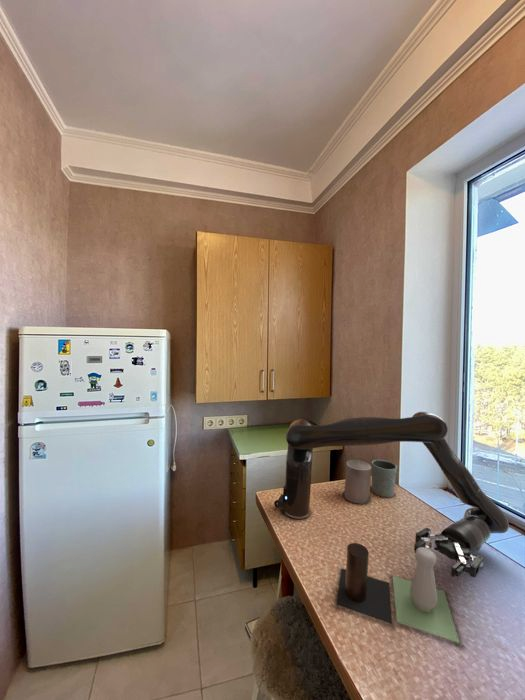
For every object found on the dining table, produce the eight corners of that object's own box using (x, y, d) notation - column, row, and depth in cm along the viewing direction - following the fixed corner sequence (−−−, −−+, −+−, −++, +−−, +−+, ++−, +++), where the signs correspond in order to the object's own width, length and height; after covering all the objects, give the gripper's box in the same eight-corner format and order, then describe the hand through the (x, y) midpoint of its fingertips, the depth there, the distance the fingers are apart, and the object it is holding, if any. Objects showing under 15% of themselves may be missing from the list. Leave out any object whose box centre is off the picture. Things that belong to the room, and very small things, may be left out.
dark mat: (336, 607, 69) (336, 604, 69) (341, 570, 80) (341, 568, 80) (391, 626, 65) (392, 623, 65) (389, 585, 76) (389, 582, 76)
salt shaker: (440, 619, 66) (444, 562, 66) (413, 613, 68) (416, 558, 67) (431, 597, 72) (434, 545, 72) (406, 592, 73) (409, 541, 73)
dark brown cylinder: (344, 598, 71) (346, 553, 70) (345, 582, 76) (348, 540, 75) (365, 605, 69) (368, 559, 69) (366, 589, 74) (368, 546, 73)
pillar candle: (357, 490, 125) (359, 455, 125) (374, 501, 117) (376, 464, 116) (339, 494, 121) (341, 458, 121) (356, 506, 112) (358, 467, 112)
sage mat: (396, 624, 65) (396, 621, 65) (392, 577, 79) (392, 575, 79) (459, 645, 61) (459, 643, 61) (444, 593, 74) (444, 590, 74)
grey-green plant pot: (383, 500, 118) (385, 470, 118) (364, 488, 127) (366, 461, 127) (400, 495, 123) (402, 466, 122) (381, 484, 132) (382, 457, 131)
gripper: (436, 512, 87) (406, 530, 78) (494, 540, 75) (467, 565, 66) (434, 536, 87) (404, 557, 78) (493, 568, 75) (465, 597, 66)
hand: (433, 561), depth 72 cm, fingers open, 8 cm apart
